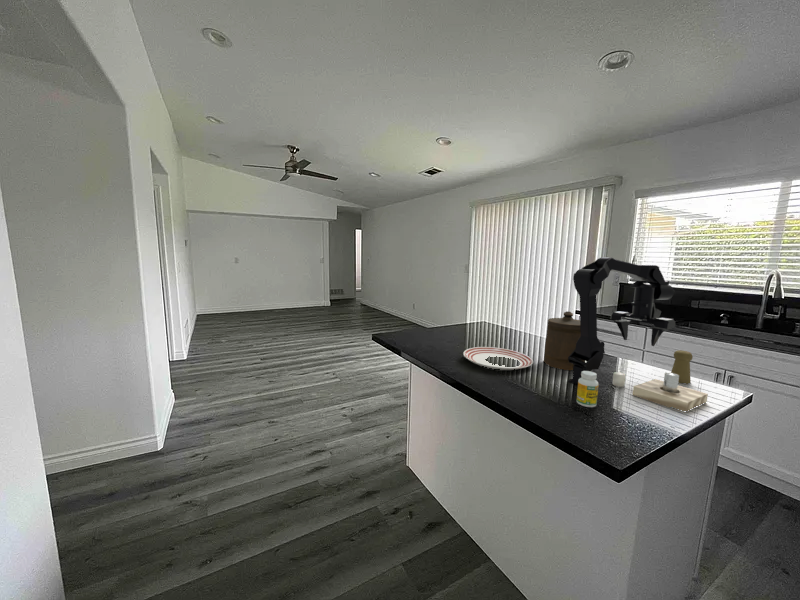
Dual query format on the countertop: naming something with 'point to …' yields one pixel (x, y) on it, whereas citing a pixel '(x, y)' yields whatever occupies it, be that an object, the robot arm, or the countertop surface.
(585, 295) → the robot arm
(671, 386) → the tall steel pin
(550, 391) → the countertop surface
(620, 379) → the short cream pin
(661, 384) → the hole board
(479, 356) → the dinner plate
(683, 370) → the cork
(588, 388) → the supplement bottle
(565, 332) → the wooden container
